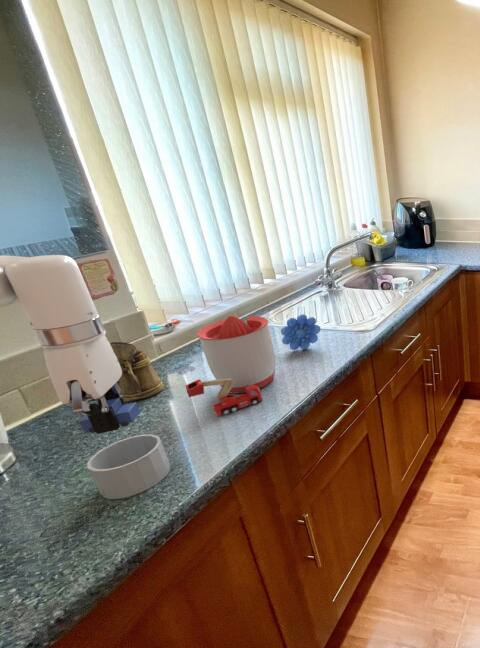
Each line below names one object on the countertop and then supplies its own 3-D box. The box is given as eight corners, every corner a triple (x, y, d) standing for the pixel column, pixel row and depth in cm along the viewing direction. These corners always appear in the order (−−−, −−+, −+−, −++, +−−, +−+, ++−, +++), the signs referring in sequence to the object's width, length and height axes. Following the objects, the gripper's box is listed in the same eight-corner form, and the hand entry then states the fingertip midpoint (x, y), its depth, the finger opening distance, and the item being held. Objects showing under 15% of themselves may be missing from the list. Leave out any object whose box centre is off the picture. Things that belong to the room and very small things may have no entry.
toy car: (85, 434, 70) (74, 413, 69) (94, 424, 73) (85, 403, 72) (134, 424, 73) (125, 404, 71) (141, 414, 76) (133, 394, 74)
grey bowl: (89, 506, 71) (74, 477, 69) (115, 469, 80) (103, 442, 78) (160, 489, 75) (148, 461, 73) (178, 455, 84) (168, 429, 81)
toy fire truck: (264, 401, 102) (255, 367, 99) (198, 424, 93) (186, 388, 90) (260, 396, 105) (251, 363, 101) (196, 418, 96) (183, 383, 92)
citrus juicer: (282, 362, 122) (266, 300, 115) (281, 389, 108) (264, 319, 101) (220, 374, 116) (200, 309, 108) (211, 404, 101) (187, 331, 94)
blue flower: (325, 341, 137) (318, 308, 132) (323, 349, 131) (316, 315, 126) (287, 346, 133) (279, 312, 129) (283, 355, 127) (275, 319, 123)
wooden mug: (114, 414, 98) (85, 347, 91) (123, 390, 108) (97, 329, 101) (161, 402, 103) (136, 338, 96) (165, 380, 113) (143, 321, 106)
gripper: (69, 318, 72) (108, 405, 79) (5, 356, 58) (60, 458, 65) (122, 312, 75) (156, 397, 81) (74, 346, 61) (120, 446, 67)
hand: (113, 423), depth 73 cm, fingers closed on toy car, 3 cm apart
